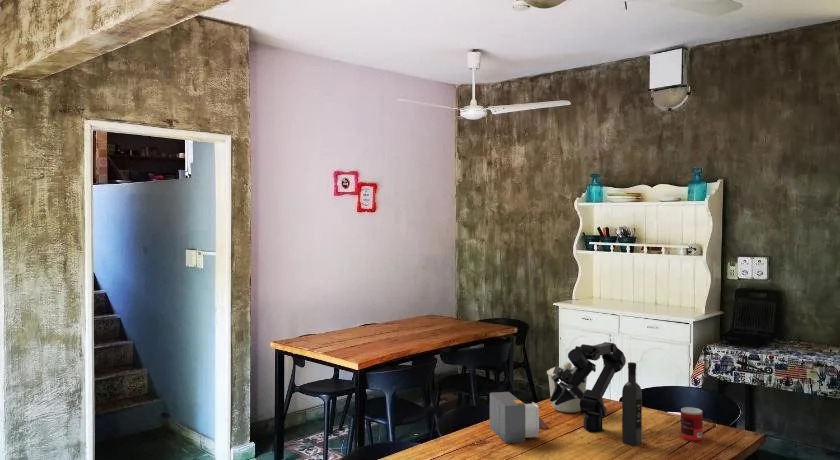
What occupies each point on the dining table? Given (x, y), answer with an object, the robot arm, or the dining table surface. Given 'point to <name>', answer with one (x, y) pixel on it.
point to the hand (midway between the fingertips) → (553, 402)
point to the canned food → (691, 424)
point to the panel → (531, 420)
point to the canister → (572, 404)
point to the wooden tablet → (542, 424)
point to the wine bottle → (632, 409)
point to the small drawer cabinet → (507, 417)
